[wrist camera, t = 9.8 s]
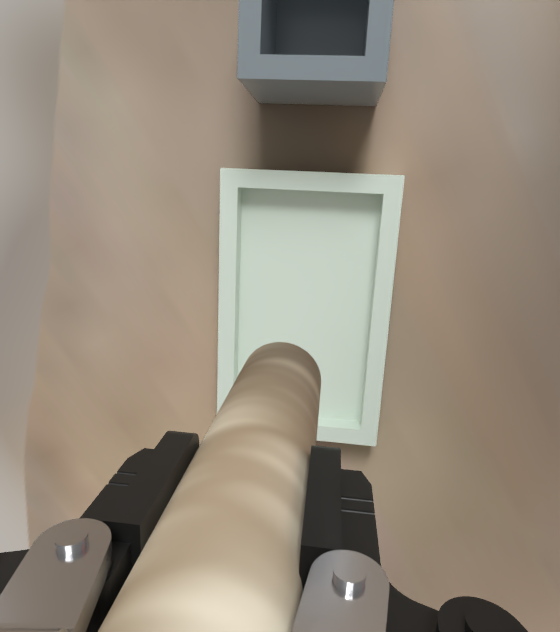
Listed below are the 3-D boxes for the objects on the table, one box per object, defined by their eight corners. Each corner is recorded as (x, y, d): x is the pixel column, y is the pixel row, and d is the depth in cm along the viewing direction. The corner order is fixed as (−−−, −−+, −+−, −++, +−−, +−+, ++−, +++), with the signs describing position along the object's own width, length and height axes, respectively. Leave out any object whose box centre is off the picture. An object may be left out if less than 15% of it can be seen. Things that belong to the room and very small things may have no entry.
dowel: (323, 344, 17) (289, 728, 5) (318, 420, 18) (279, 919, 6) (242, 338, 18) (14, 685, 5) (240, 413, 18) (39, 872, 6)
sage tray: (399, 176, 27) (404, 175, 25) (373, 430, 31) (376, 446, 29) (228, 169, 28) (220, 167, 26) (224, 416, 32) (216, 430, 30)
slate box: (388, -31, 25) (403, -98, 19) (376, 106, 27) (386, 81, 21) (263, -30, 26) (240, -96, 20) (258, 103, 27) (237, 78, 22)
